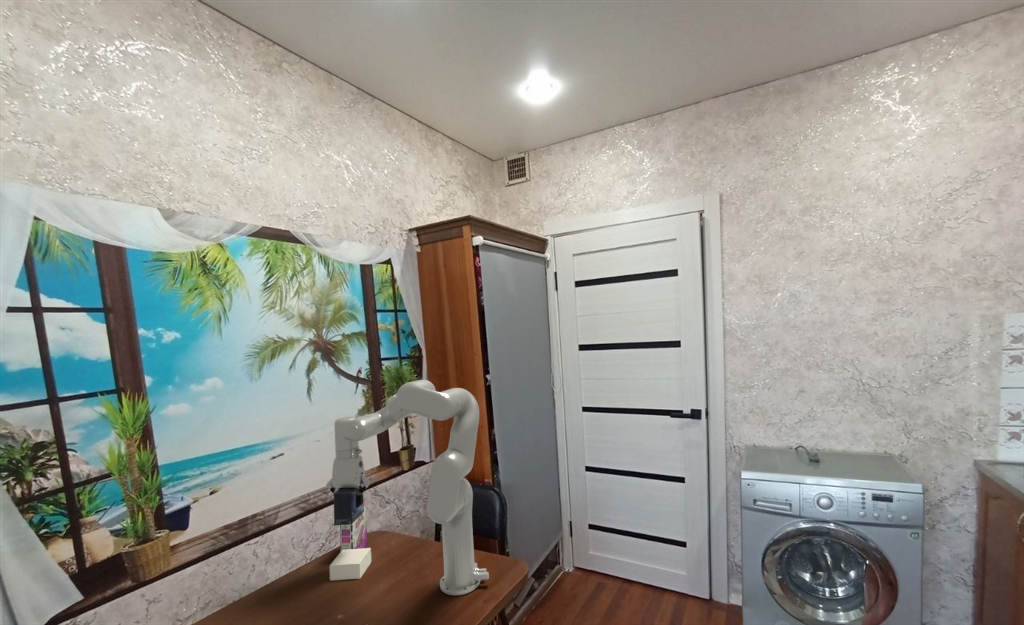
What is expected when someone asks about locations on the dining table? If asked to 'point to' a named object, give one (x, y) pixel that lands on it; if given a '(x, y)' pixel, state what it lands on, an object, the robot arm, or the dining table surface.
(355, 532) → the candy bar box
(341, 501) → the small box
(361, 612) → the dining table surface
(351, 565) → the base block
